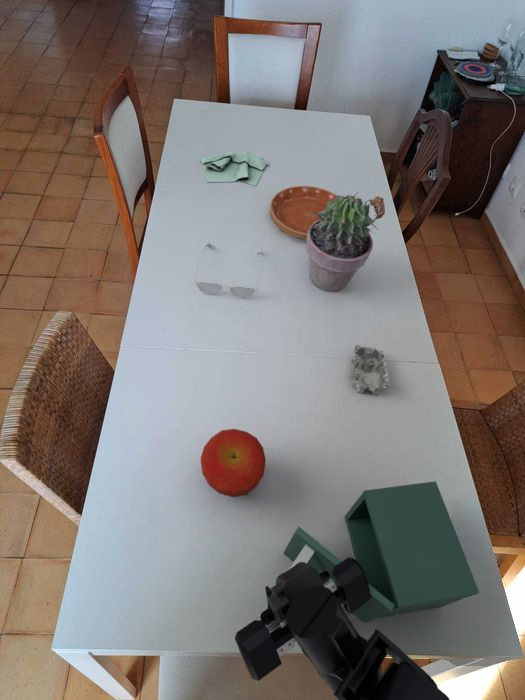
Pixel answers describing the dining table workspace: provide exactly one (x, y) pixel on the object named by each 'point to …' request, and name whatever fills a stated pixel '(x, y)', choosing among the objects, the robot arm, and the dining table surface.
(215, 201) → the dining table surface
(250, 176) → the cloth
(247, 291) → the eyeglasses
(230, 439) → the apple
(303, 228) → the saucer
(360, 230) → the potted plant
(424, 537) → the box
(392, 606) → the cooler door
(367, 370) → the egg carton
